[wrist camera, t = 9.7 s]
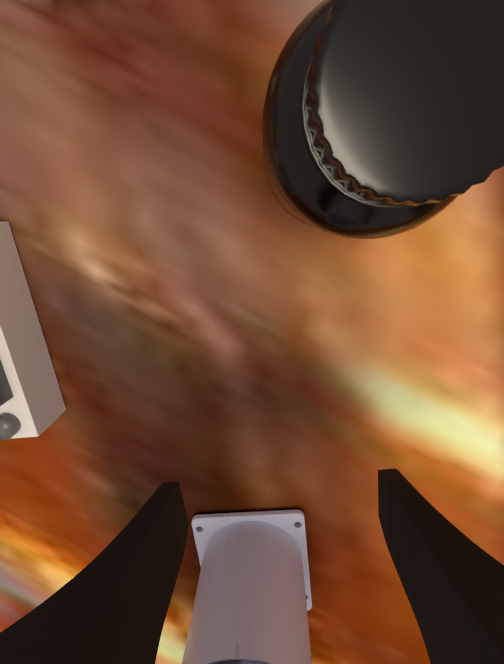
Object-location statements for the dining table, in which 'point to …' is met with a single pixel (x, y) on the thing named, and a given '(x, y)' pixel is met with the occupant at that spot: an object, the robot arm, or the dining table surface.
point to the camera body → (23, 354)
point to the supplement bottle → (385, 112)
